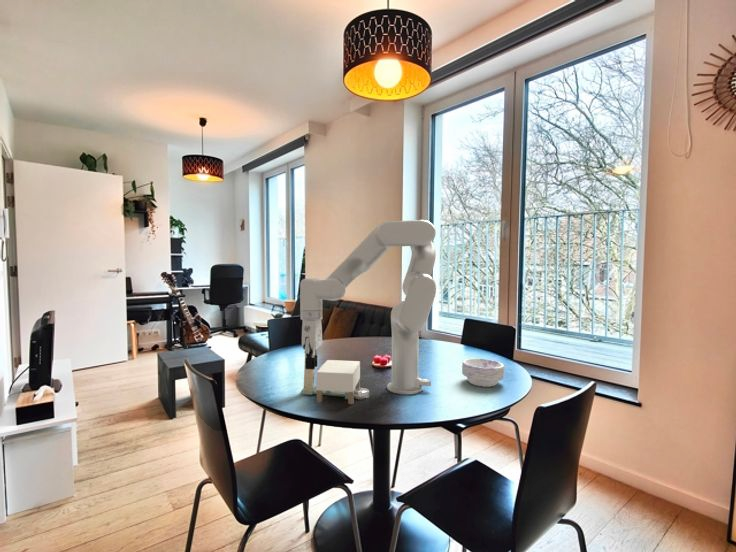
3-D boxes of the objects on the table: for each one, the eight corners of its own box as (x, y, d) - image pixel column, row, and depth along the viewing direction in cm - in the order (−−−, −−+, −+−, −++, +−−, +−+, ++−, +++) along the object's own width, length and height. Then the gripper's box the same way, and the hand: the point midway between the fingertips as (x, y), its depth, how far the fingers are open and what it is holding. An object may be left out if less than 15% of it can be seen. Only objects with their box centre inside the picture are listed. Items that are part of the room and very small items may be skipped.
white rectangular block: (359, 388, 139) (360, 361, 139) (353, 404, 124) (353, 373, 124) (327, 387, 141) (327, 359, 140) (316, 402, 126) (316, 371, 125)
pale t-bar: (300, 394, 131) (301, 350, 130) (305, 387, 138) (307, 346, 137) (349, 399, 129) (351, 355, 128) (353, 392, 136) (355, 350, 135)
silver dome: (369, 393, 135) (369, 388, 135) (368, 400, 129) (368, 394, 129) (352, 393, 135) (352, 387, 135) (350, 399, 129) (350, 393, 129)
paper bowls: (504, 379, 151) (504, 359, 151) (503, 392, 137) (504, 370, 136) (464, 375, 156) (464, 355, 156) (459, 387, 142) (460, 365, 142)
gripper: (315, 318, 124) (315, 375, 125) (327, 311, 140) (327, 362, 141) (293, 318, 125) (293, 374, 126) (307, 311, 141) (307, 361, 142)
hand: (311, 367), depth 133 cm, fingers closed on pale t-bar, 2 cm apart
